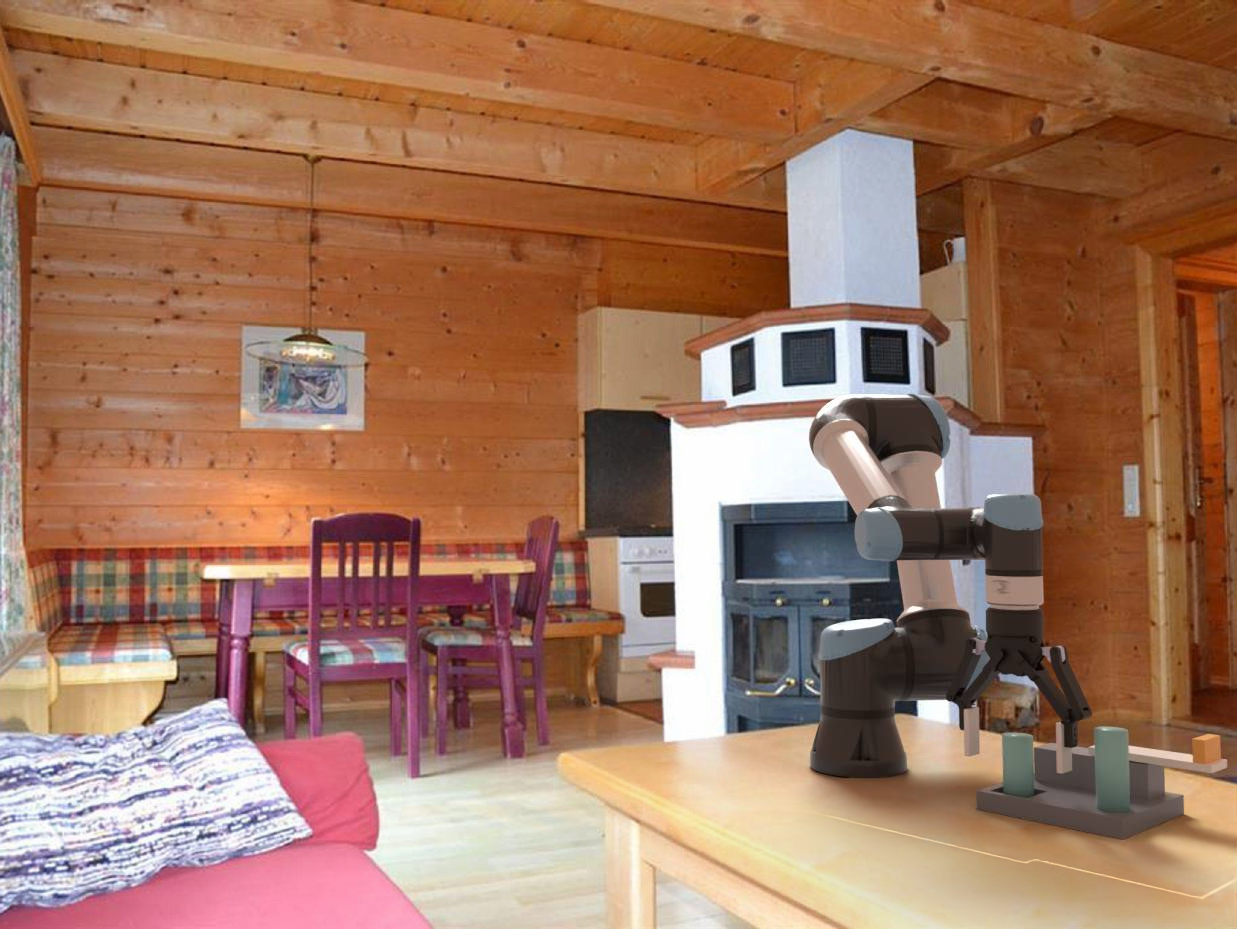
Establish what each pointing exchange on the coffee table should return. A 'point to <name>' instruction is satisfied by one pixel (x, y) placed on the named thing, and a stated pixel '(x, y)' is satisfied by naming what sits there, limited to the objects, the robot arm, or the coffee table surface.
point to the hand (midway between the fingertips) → (1016, 763)
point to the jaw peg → (1018, 764)
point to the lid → (1182, 755)
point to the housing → (1091, 790)
